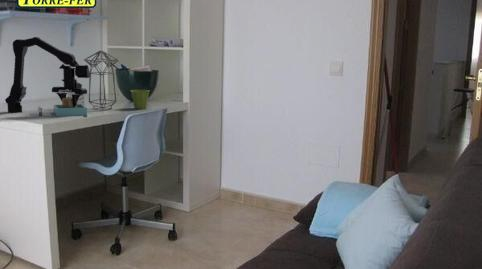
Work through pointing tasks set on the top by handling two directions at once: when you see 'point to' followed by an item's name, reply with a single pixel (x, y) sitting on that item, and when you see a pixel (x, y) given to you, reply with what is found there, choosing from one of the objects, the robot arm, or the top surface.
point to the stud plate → (40, 113)
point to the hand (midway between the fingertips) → (69, 106)
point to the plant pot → (140, 98)
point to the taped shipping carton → (68, 103)
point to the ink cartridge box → (80, 100)
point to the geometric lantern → (100, 76)
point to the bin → (70, 111)
